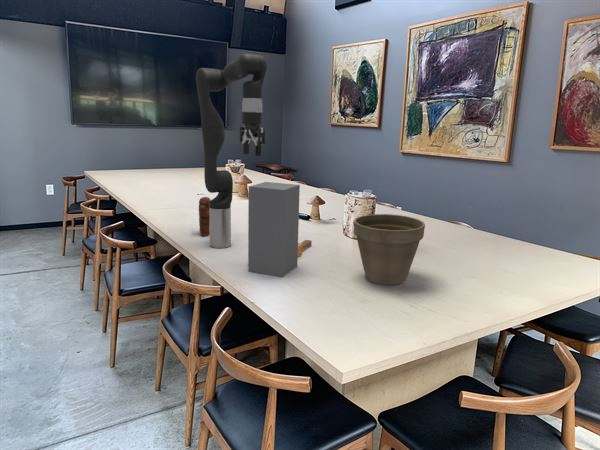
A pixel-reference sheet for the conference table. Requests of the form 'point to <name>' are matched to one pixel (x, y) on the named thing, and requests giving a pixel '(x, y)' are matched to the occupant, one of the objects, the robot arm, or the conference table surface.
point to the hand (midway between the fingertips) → (251, 154)
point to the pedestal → (273, 228)
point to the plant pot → (387, 246)
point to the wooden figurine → (204, 216)
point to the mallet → (303, 246)
